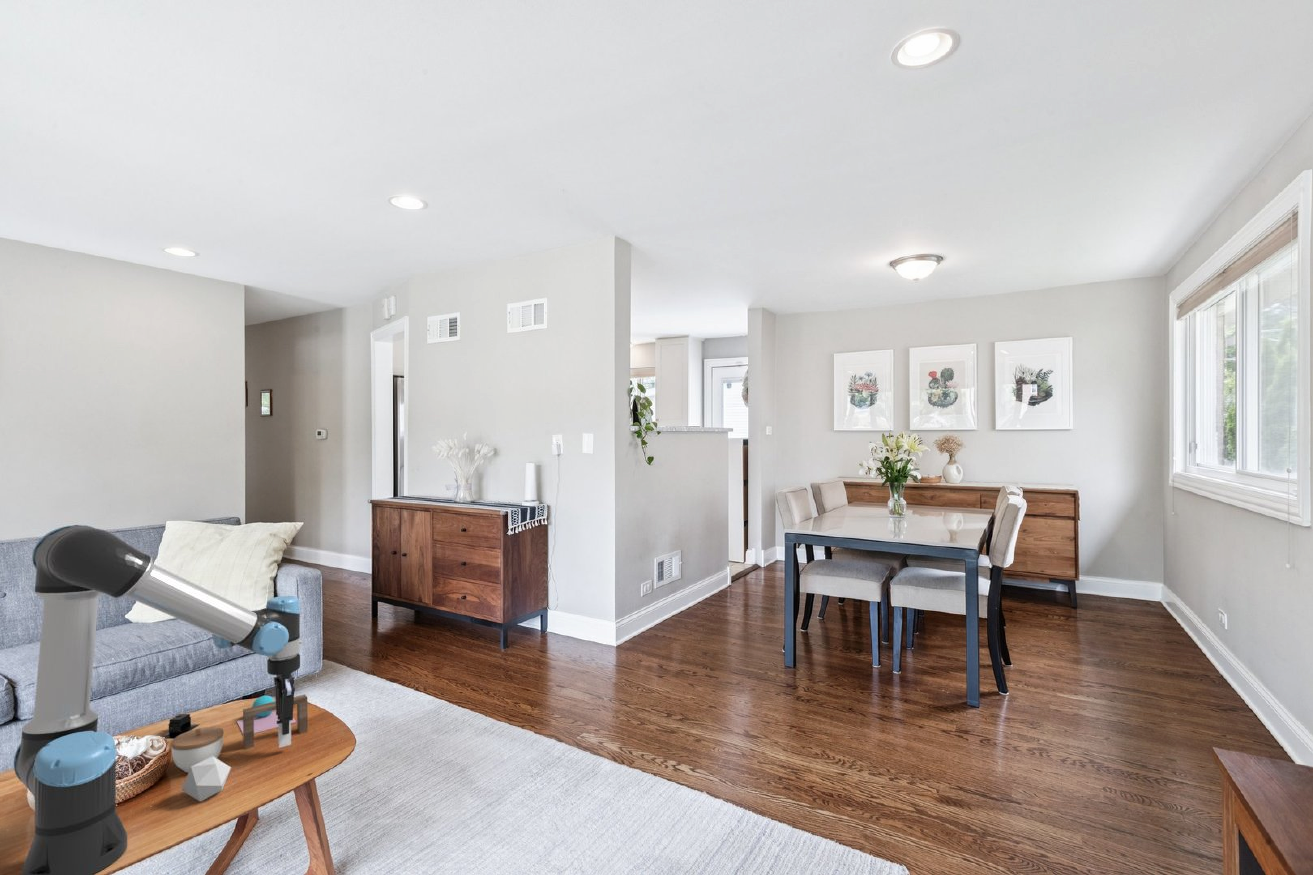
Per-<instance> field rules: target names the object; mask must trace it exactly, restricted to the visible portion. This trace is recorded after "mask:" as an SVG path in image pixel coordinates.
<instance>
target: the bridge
mask: <svg viewBox="0 0 1313 875" xmlns="http://www.w3.org/2000/svg"><path fill="white" fill-rule="evenodd" d="M294 705H295V706H296V723H297V725H296V726H297V727H296V731H297V732H298V733H299V734H303V733H308V730H309V729H308V724H309V722H308V718H309V716H308V696H307V695H306V694H304V693H303V694H301V695H295V696H294V704H293V706H294ZM272 710H273V711H276V700H275V702H271V703H267V704H263V705H259V706H255V707H247V708H244V709H242V713H243V714H242V717H243V718H242V720H243V733H242V735H243V737H242V738H243V741H242V742H243V744H242V746H243V747H244V749H245V750H247V749H250V748H254V747H255V734H254V717H255V716H256V714H260V713H264V712H268V711H272Z"/></svg>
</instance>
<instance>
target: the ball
mask: <svg viewBox="0 0 1313 875" xmlns="http://www.w3.org/2000/svg"><path fill="white" fill-rule="evenodd" d="M275 701H276V699H274V697H272V696H271V695H261V696H260V697H258V698H256V699H255V700H254V702H253V703H252V705H251V706H252V707H255V706H259V705H263V704H267V703H271V702H275ZM272 712H274V710H272V711H268V712H264V713H260V714H256V715H255V716H258V717H265V716H268V715H269V714H271V713H272Z"/></svg>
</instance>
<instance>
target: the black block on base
mask: <svg viewBox="0 0 1313 875" xmlns="http://www.w3.org/2000/svg"><path fill="white" fill-rule="evenodd" d="M200 725H201V724H200V723H198V724H197V723H196V724H195V723H193V724H192V716H191V714H190V713H179V714H176V715H175V717H172V718H170V719H169V722H168V732H167V733H165V734H164V735H162V736H163V737H165V738H166V739H165V740H173V739H174V738H176V737H177V736H179V735H181V734H183V733H185V732H188V731H191V730H194V729H196V727H199V726H200Z"/></svg>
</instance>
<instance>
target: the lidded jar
mask: <svg viewBox="0 0 1313 875" xmlns="http://www.w3.org/2000/svg"><path fill="white" fill-rule="evenodd" d="M171 740H172V741H171V743H170V744H171V756H172V759H173V762H174V764H175V765H176V767H178V768H179V769H180V770H183V772H184V773H189V771H190V768H191V766H193V765H195V764H197V763H200V762H202V761H204V760H206V759H208V758H210V757H212V756H213V757H215V758H217V759H218V757H219V756H220V754H221V751H222V749H223V742H224V729H223V728H222V727H219V726H205V727H199V728H194V729H192V730H191V731H188V732H185V733H183V734H181V735H179V736H177V737H176V738H174V739H171Z"/></svg>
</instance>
